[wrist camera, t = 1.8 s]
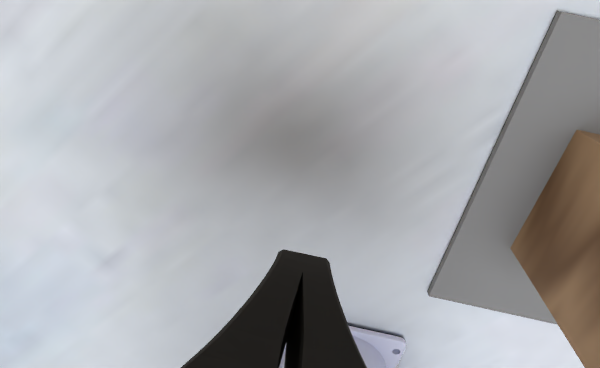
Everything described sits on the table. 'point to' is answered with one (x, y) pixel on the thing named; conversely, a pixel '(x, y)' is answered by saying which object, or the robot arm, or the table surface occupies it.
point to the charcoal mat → (523, 172)
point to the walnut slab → (568, 246)
